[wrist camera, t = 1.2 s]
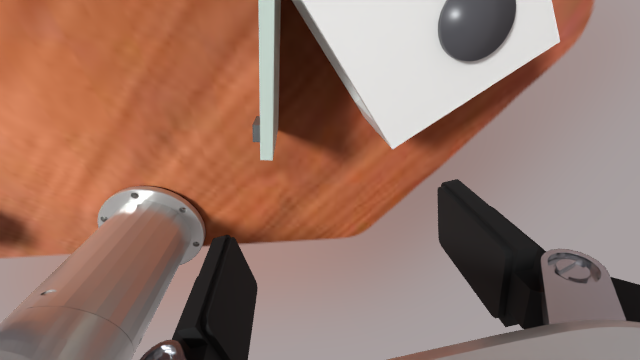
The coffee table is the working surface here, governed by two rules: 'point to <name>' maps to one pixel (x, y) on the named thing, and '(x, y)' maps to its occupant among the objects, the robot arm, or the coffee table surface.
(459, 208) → the robot arm
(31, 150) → the coffee table surface
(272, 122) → the side door
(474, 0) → the white cabinet
